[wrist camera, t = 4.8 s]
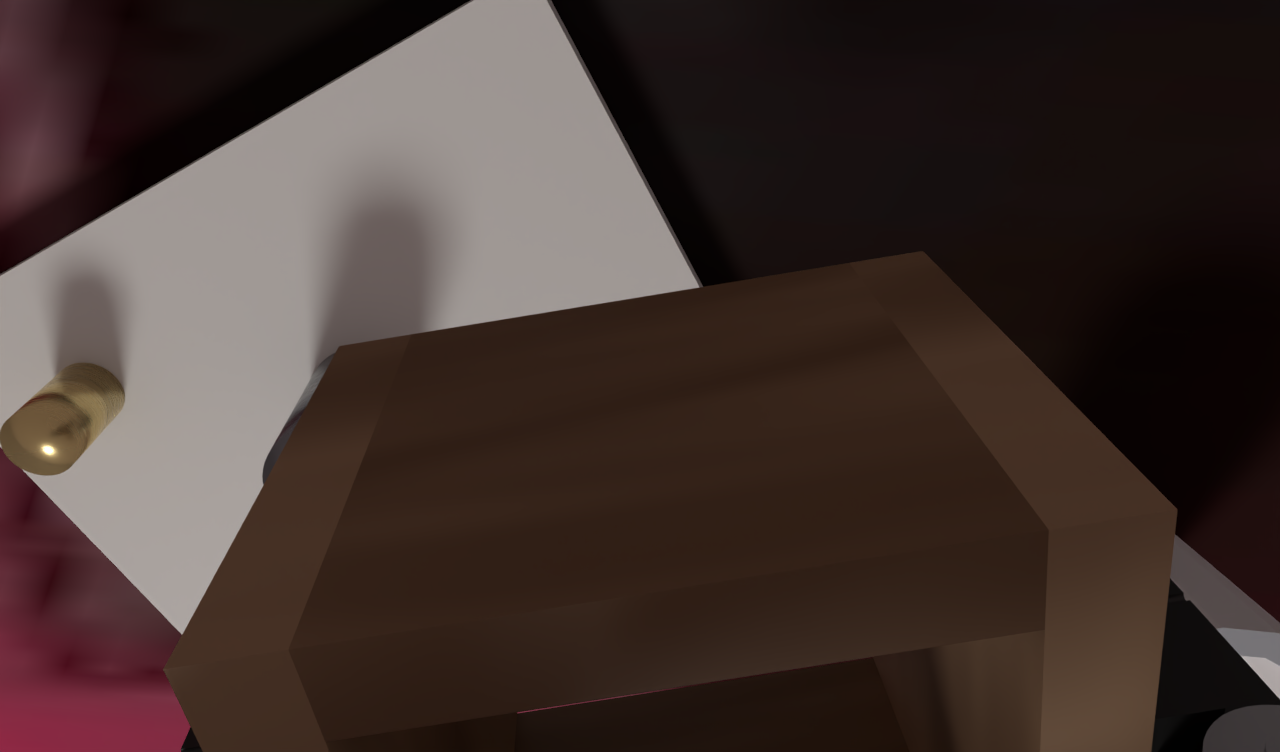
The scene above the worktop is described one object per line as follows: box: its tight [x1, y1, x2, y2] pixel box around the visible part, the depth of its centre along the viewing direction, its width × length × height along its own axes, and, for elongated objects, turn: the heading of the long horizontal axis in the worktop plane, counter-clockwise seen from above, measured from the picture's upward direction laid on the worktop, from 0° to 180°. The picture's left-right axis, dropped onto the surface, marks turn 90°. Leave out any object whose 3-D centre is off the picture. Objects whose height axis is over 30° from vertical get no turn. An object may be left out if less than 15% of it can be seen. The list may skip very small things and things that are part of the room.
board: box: [0, 0, 703, 634], centre depth 25 cm, size 17×13×1 cm
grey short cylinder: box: [1170, 535, 1280, 699], centre depth 26 cm, size 7×7×7 cm
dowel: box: [0, 363, 125, 476], centre depth 22 cm, size 2×2×2 cm
